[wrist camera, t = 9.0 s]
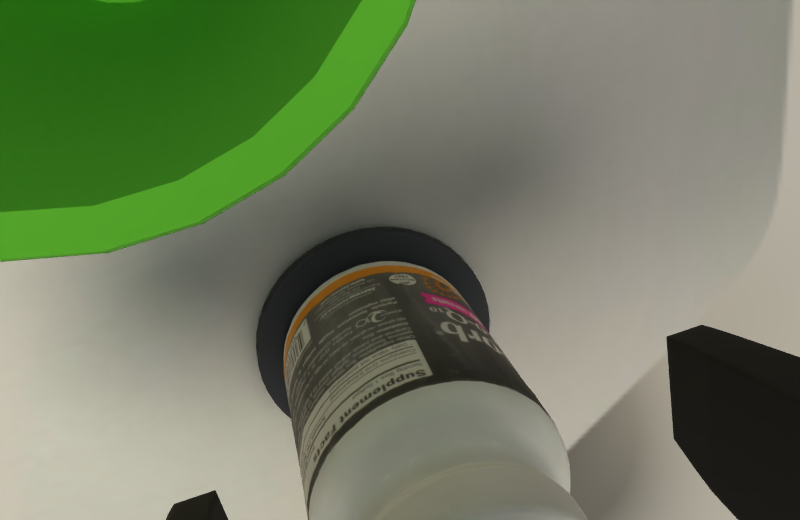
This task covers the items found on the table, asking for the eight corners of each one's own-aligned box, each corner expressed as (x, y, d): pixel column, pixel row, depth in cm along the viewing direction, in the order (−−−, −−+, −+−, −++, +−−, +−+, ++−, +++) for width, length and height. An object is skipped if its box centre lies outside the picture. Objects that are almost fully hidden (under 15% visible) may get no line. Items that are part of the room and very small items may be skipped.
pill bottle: (504, 338, 23) (695, 590, 14) (365, 456, 23) (463, 773, 14) (389, 213, 20) (532, 421, 11) (235, 348, 21) (258, 649, 12)
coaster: (463, 196, 21) (468, 201, 21) (501, 393, 24) (506, 400, 24) (223, 269, 20) (224, 274, 20) (294, 463, 23) (295, 471, 23)
